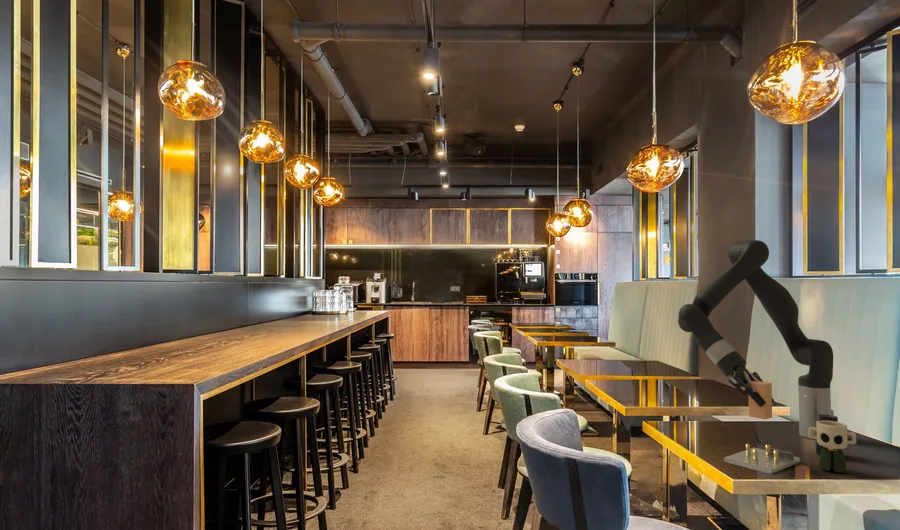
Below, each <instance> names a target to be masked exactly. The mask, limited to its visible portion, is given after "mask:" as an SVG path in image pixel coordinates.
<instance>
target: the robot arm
mask: <svg viewBox="0 0 900 530" xmlns="http://www.w3.org/2000/svg"><path fill="white" fill-rule="evenodd" d="M769 257H770V249H769V247H768V245H767V244H766V243H765V242H764V241H762V240H757V239H750V240H740V241H736V242H734V243H732V244H731V245H730V246H729V248H728V258H729V260H730V262H731V264H732V265H731V266H730V267H729V268H727V269H726V270H724V271H722V272H721V273H720V274H718V275H716V276H715V277H714V278H712V279H710V280H709V281H708V282H707V283H706V284H705V285H704V286H703V287H702V288H701V290H700V291H699V292H698V293H697V294H696V295H695V296H694V299H693V301H692V303H687V304H684V305H682V306H681V307H680V309H679V310H678V311H679V312H678V318H677V319H678V320H677V322H678V323H677V324H678V326H679V328H680V329H681V330H682V331H684V332H685V333H693V335H694V339H695V341H696V343H697V344H698V346H699V347H700V348H701V349H702V350H703V352H705V354H706V355H707V356H708V358H709V359H710V360H711V362H712V363H713V364H714V365H715V366H716V367H717V368H718V370H719V371H720V372H721V373H722V374H723V375H724V376H725V377H727V378H729V377H730V378H729V379H728V383H729V384H731V385H732V386H733V387H734V388H736V389H737V390H738V391H739V392H740V393H741V394H742V395H743V396H746V395H747V396H748V398H749V397H750V396H751V398H752V399H753V400H754V401H755V402H756V403H757V405H758V406H759V407H762V406H763V405H764V404H766V401H765V400H764V399H763V398H762V397H761V396H760V395H759V394H758V392H756V390H755V389H754V388H753V386H752V383H751V382H752V381H761V382H764V380H763V379H762V377H761V376H760V374H759V373H758V372H757V371H754V372H751V371H750V370H749V369H747V367H746V365H747V364H748V363H747V360H746V359H744V357H743V356H742V355H741V354H740V353H739V352H738V351H737V350H736V349H735V347H734V346H733V345H732V344H731V343H729V342H728V341H727V340H726V339H725V338H724V337H723V336H722V335H721V333H719V332H718V330H716V329H715V327H714V325H713V324H712V322H711V321H710V319H709V316H710V314H711V313H712V312H713V311H714V309H715V308H717V306H719V304H721V303H722V301H723V300H724V299H725V298H726V297H727V295H728V294H729V293H731V292H732V291H733V290H734V289H735V288H736V287H737V286H738V285H739V284H741V283H742V282H743V281H744V280H745V281H746V283H747V284H748V286H749V287H750V289H751V291H753V293H754V295H755V296H756V297H757V299H758V300H759V302H760V303H761V306H762V307H763V309H764V310H765V311H766V313H767V314H768V316H769V317H770V319H771V320H772V322H773V323H774V325H775V326H776V328H777V330H778V331H779V333H780V334H781V336H782V338H783V340H784V342H785V345H786V346H787V348H788V351H789V352H790V355H791V357H792V358H793V360H794V361H796V362H797V363H799V364H800V365H803V366H809V367H808V372H807V373H806V374H804V375H800V376H799V377H798V380H797V382H798V385H797V386H798V425H799V429H798V430H799V431H798V432H799V436H800V437H803V438H807V439H810V438H809V431H808V429H809V427H815V425H816V422H817V421H819V415H820V414H827V415H833V416H835V414H834V410H833V409H832V404H831V403H832V400H831V395H832V394H831V383H832V380H833V377H834V351H833V348H832V346H831V344H830V343H829V342H827V341H825V340H821V339H813V338H812V339H811V338H808V337H807V336H806V335H805V333H803V330H802V328H801V327H800V325H799V306H798V305H797V302H796V301H795V299H794V298H793V295H791V293H790V291H789V290H788V289H787V288H786V287H784V286H783V284H781V283H780V282H779V281H777V280H776V279H774V278H773V277H772V276H770V275H769V274H768V273H767V272H765V270H764V269H763V268H762V266H763V265H764V264H766V262H767V261H768V259H769ZM749 387H750V388H749ZM774 402H775V399H774V398H773V397H772V404H773V403H774ZM813 436H815V431H813Z"/></svg>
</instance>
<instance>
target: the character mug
mask: <svg viewBox="0 0 900 530" xmlns="http://www.w3.org/2000/svg"><path fill="white" fill-rule="evenodd" d="M808 431H809V438H808V439H811V440H815V439H816V440H817V442H818V444H819V445H821V446H823V448H822V449H821V452H820V456H819V459H818V467H819V468H820V469H823V470H825V471H828V472H829V471H831V469H832V470H834V472H836V473H843V472H846V471H847V469H848V468H847V463H846V459H845V458H846V456H845V453H844V451H843V449H846V448H847V447H848V445H856V444H857V435H856V434H857V433H856V432H853V431H848V425H847V424H846V423H843V422H839V421H838V422H835V421H817V422H816V428H815V427H809V429H808ZM813 431H816V432H817V436H813ZM848 436H850V437H851V440H848ZM841 449H842V450H841Z"/></svg>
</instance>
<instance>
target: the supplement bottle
mask: <svg viewBox="0 0 900 530" xmlns="http://www.w3.org/2000/svg"><path fill="white" fill-rule="evenodd" d="M819 421H835V422H839V417H838V416H836V415H834V416H833V415H827V414H820V415H819ZM815 428H816V425H815ZM815 436H817V432H816V431H815ZM822 448H823V446H821V445H819V444H818V442H817V440H816V439H814V450H815V451H814V452H815V454H816V455H817V456H819V457H820V452H821V449H822ZM841 450H842V451H843V449H841Z"/></svg>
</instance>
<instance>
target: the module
mask: <svg viewBox="0 0 900 530" xmlns="http://www.w3.org/2000/svg"><path fill="white" fill-rule="evenodd" d="M751 383H752V386H753V388H754V389H755V390H756V392H758V394H759V395H760V396H761V397H762V398H763V399H764V400H765V401H766V404H764V405H763V406H762V407H759V406H758V405H757V403H756V402H755V401H754V400H753V399H752V398H751V396H750V397H749V396H748V417H751V418H755V419H761V420H768V419H772V418H773V403H772V398H773V389H772V388H773V385H772V384H773V383H772V382H768V381H763V382H761V381H752V382H751ZM749 388H750V387H749Z"/></svg>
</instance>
